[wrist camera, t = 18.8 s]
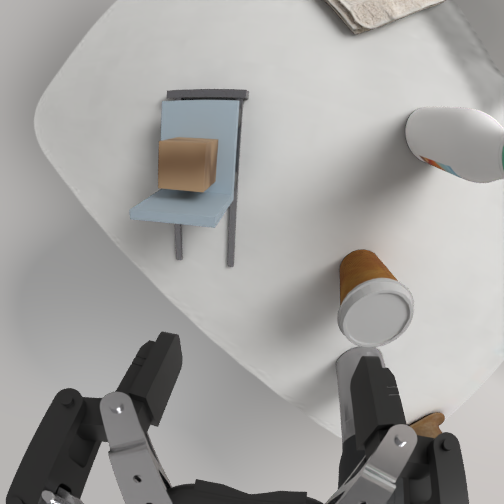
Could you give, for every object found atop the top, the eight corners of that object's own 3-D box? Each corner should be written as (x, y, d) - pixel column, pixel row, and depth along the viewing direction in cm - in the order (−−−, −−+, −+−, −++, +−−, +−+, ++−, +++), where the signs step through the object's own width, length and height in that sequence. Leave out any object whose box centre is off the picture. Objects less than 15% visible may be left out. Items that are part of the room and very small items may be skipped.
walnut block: (215, 181, 32) (203, 192, 28) (175, 177, 33) (158, 188, 28) (218, 139, 30) (205, 143, 26) (177, 137, 30) (158, 141, 26)
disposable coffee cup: (354, 305, 43) (368, 360, 32) (315, 268, 41) (321, 322, 30) (401, 267, 39) (429, 317, 28) (364, 225, 37) (390, 269, 26)
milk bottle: (393, 139, 31) (485, 170, 13) (419, 95, 27) (521, 92, 10) (433, 173, 32) (528, 229, 14) (458, 131, 28) (561, 159, 11)
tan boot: (436, 404, 54) (449, 449, 41) (446, 415, 57) (457, 456, 43) (388, 428, 60) (395, 473, 47) (402, 437, 63) (409, 478, 49)
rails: (237, 265, 42) (235, 272, 40) (174, 257, 43) (169, 263, 41) (248, 91, 31) (246, 89, 29) (173, 91, 32) (167, 90, 30)
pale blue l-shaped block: (237, 194, 36) (214, 227, 26) (172, 189, 37) (130, 219, 27) (242, 102, 31) (220, 94, 21) (173, 102, 32) (126, 99, 21)
